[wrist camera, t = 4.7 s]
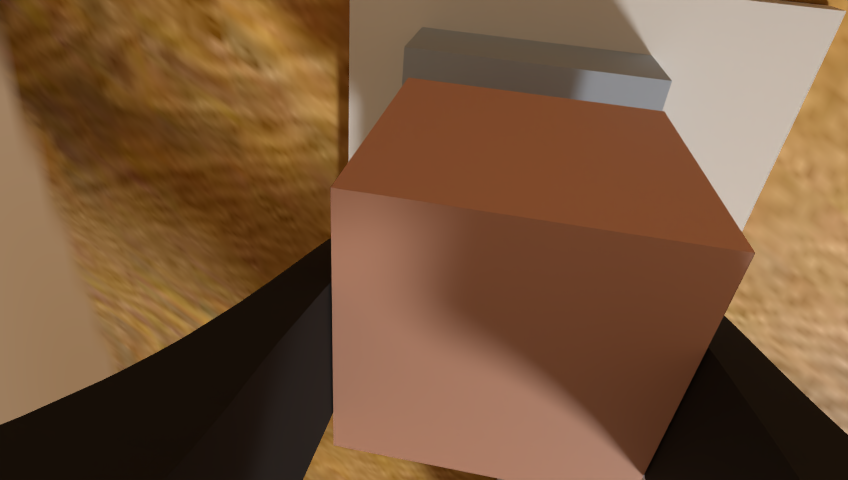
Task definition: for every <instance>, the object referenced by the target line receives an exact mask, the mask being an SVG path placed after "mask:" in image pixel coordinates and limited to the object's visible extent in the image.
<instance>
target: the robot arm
mask: <svg viewBox="0 0 848 480" xmlns="http://www.w3.org/2000/svg"><path fill="white" fill-rule="evenodd" d="M332 414H333V345H332V266H331V239H328V240H327V241H326V242H324V243H323V244H321V245H320V246H318V247H317V248H316V249H314V250H313V251H311V252H310V253H309V254H307V255H306V256H304V257H303V258H302V259H300V260H299V261H298V262H296V263H295V264H293V265H292V266H291V267H289V268H288V269H287V270H285V271H284V272H282V273H281V274H280V275H278V276H277V277H276V278H274V279H273V280H271V281H270V282H268V283H267V284H266V285H264V286H263V287H261V288H260V289H258V290H257V291H256V292H254V293H253V294H251V295H250V296H248V297H247V298H245V299H244V300H243V301H241V302H240V303H238V304H237V305H235V306H233V307H232V308H230V309H229V310H227V311H225V312H224V313H222V314H221V315H219V316H217V317H216V318H214V319H213V320H211V321H209V322H208V323H206V324H205V325H203V326H202V327H200V328H198V329H197V330H195V331H194V332H192V333H190V334H189V335H187V336H185V337H183V338H182V339H180V340H178V341H177V342H175V343H173V344H171V345H169V346H168V347H166V348H164V349H162V350H160V351H159V352H157V353H155V354H153V355H151V356H149V357H147V358H145V359H143V360H141V361H139V362H137V363H136V364H134V365H132V366H130V367H128V368H126V369H124V370H122V371H120V372H118V373H116V374H114V375H112V376H110V377H108V378H106V379H104V380H102V381H100V382H97V383H95V384H93V385H91V386H88V387H86V388H84V389H82V390H80V391H77V392H75V393H73V394H70V395H68V396H66V397H64V398H61V399H59V400H57V401H55V402H52V403H50V404H48V405H46V406H44V407H41V408H39V409H37V410H35V411H32V412H30V413H28V414H26V415H24V416H21V417H19V418H16V419H14V420H11V421H9V422H6V423H4V424H1V425H0V480H303V478H304V476H305V474H306V471H307V469H308V467H309V465H310V463H311V460H312V458H313V456H314V454H315V451H316V449H317V447H318V445H319V443H320V440H321V438H322V436H323V434H324V432H325V429H326V427H327V425H328V423H329V420H330V418H331V416H332ZM497 480H503V479H498V478H497ZM642 480H848V435H847V434H846V433H845V432H844V431H843V430H842V429H841V428H840V427H839V426H838V425H837V424H835V423H834V422H833V421H832V420H831V419H830V418H829V417H828V416H827V415H826V414H825V413H824V412H822V411H821V410H820V409H819V408H818V407H817V406H816V405H815V404H814V403H813V402H812V401H811V400H810V399H809V398H808V397H807V396H806V395H805V394H804V393H803V392H802V391H800V390H799V389H798V388H797V387H796V386H795V385H794V384H793V383H792V382H791V381H790V380H789V379H788V378H787V377H786V376H785V375H784V374H783V373H782V372H781V371H780V370H779V369H778V368H777V367H776V366H775V365H774V364H773V363H772V362H771V361H770V360H769V359H768V358H767V357H766V356H765V355H764V354H763V353H762V352H761V351H760V350H759V349H758V348H757V347H756V346H755V345H754V344H753V343H752V342H751V341H750V340H749V339H748V338H747V337H746V336H745V335H744V334H743V333H742V332H741V331H740V330H739V329H738V328H737V327H736V326H735V325H734V324H733V323H732V322H730V321H729V320H728V319H727V318H726V317H725V316H723V318H722V320H721V322H720V324H719V326H718V328H717V330H716V332H715V334H714V336H713V338H712V340H711V342H710V344H709V346H708V348H707V350H706V352H705V354H704V356H703V358H702V360H701V362H700V364H699V366H698V368H697V370H696V372H695V374H694V376H693V378H692V380H691V382H690V384H689V386H688V388H687V390H686V392H685V394H684V396H683V398H682V400H681V402H680V404H679V406H678V408H677V410H676V412H675V414H674V416H673V418H672V420H671V422H670V424H669V426H668V428H667V430H666V432H665V434H664V436H663V438H662V440H661V442H660V444H659V446H658V448H657V450H656V452H655V454H654V456H653V458H652V460H651V462H650V464H649V466H648V468H647V470H646V472H645V474H644V476H643V478H642Z"/></svg>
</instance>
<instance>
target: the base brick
mask: <svg viewBox="0 0 848 480" xmlns="http://www.w3.org/2000/svg"><path fill="white" fill-rule="evenodd" d="M408 77H409V78H416V79H424V80H431V81H439V82H447V83H454V84H462V85H469V86H477V87H484V88H492V89H499V90H507V91H515V92H522V93H530V94H537V95H545V96H552V97H560V98H567V99H575V100H583V101H590V102H598V103H605V104H613V105H620V106H628V107H635V108H643V109H651V110H658V111H662V110H663V107H664V104H665V101H666V98H667V95H668V92H669V89H670V86H671V83H672V80H671V79H670V78H669V76H668V75H667V74H666V73H665V71H664V70H663V69H662V68H661V66H660V65H659V64H658V63H657V61H656V60H655V59H654V57H653V56H652V55H646V54H638V53H629V52H621V51H613V50H605V49H597V48H589V47H581V46H573V45H564V44H556V43H548V42H540V41H532V40H524V39H516V38H507V37H499V36H491V35H483V34H475V33H467V32H459V31H451V30H442V29H434V28H426V27H422V28H421V29H420V30H419V31H418V32H417V33H416V34H415V35H414V37H413V38H412V39H411V40H410V41H409V42H408V43H407V44H406V46H405V47H404V60H403V76H402V86H403V84H404V83H405V81H406V80H407V79H408Z"/></svg>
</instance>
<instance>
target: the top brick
mask: <svg viewBox="0 0 848 480" xmlns="http://www.w3.org/2000/svg"><path fill="white" fill-rule="evenodd" d="M754 255H755V252H754V250H753V249H752V247H751V246H750V244H749V243H748V241H747V239H746V238H745V236H744V235H743V233H742V232H741V230H740V229H739V227H738V225H737V224H736V222H735V221H734V219H733V218H732V216H731V215H730V213H729V211H728V210H727V208H726V207H725V205H724V204H723V202H722V200H721V199H720V197H719V196H718V194H717V193H716V191H715V190H714V188H713V186H712V185H711V183H710V182H709V180H708V179H707V177H706V175H705V174H704V172H703V171H702V169H701V168H700V166H699V165H698V163H697V161H696V160H695V158H694V157H693V155H692V154H691V152H690V151H689V149H688V147H687V146H686V144H685V143H684V141H683V140H682V138H681V136H680V135H679V133H678V132H677V130H676V129H675V127H674V126H673V124H672V122H671V121H670V119H669V118H668V116H667V115H666V113H665V112H664V111H658V110H651V109H643V108H635V107H628V106H620V105H613V104H605V103H598V102H590V101H583V100H575V99H567V98H560V97H552V96H545V95H537V94H530V93H522V92H515V91H507V90H499V89H492V88H484V87H477V86H469V85H462V84H454V83H447V82H439V81H431V80H424V79H416V78H409V77H408V79H407V80H406V81H405V83H404V84H403V86H402V87H401V89H400V90H399V91H398V93H397V94H396V96H395V97H394V98H393V100H392V101H391V103H390V104H389V105H388V107H387V108H386V110H385V111H384V113H383V114H382V115H381V117H380V118H379V120H378V121H377V122H376V124H375V125H374V127H373V128H372V129H371V131H370V132H369V134H368V135H367V137H366V138H365V139H364V141H363V142H362V144H361V145H360V146H359V148H358V149H357V151H356V152H355V154H354V155H353V156H352V158H351V159H350V161H349V162H348V163H347V165H346V166H345V168H344V169H343V170H342V172H341V173H340V175H339V176H338V178H337V179H336V180H335V182H334V183H333V185H332V186H331V266H332V345H333V425H334V445H335V446H340V447H345V448H350V449H355V450H360V451H365V452H370V453H375V454H380V455H385V456H389V457H394V458H399V459H404V460H409V461H414V462H419V463H424V464H429V465H434V466H439V467H444V468H449V469H454V470H459V471H464V472H469V473H473V474H478V475H483V476H488V477H493V478H498V479H503V480H642V478H643V476H644V474H645V472H646V470H647V468H648V466H649V464H650V462H651V460H652V458H653V456H654V454H655V452H656V450H657V448H658V446H659V444H660V442H661V440H662V438H663V436H664V434H665V432H666V430H667V428H668V426H669V424H670V422H671V420H672V418H673V416H674V414H675V412H676V410H677V408H678V406H679V404H680V402H681V400H682V398H683V396H684V394H685V392H686V390H687V388H688V386H689V384H690V382H691V380H692V378H693V376H694V374H695V372H696V370H697V368H698V366H699V364H700V362H701V360H702V358H703V356H704V354H705V352H706V350H707V348H708V346H709V344H710V342H711V340H712V338H713V336H714V334H715V332H716V330H717V328H718V326H719V324H720V322H721V320H722V318H723V316H724V314H725V312H726V310H727V308H728V306H729V304H730V302H731V300H732V298H733V296H734V294H735V292H736V290H737V288H738V286H739V284H740V282H741V280H742V279H743V277H744V275H745V273H746V271H747V269H748V267H749V265H750V263H751V261H752V259H753V257H754Z"/></svg>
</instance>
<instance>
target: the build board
mask: <svg viewBox="0 0 848 480" xmlns="http://www.w3.org/2000/svg"><path fill="white" fill-rule="evenodd" d="M845 13H846V11H844V10H841V9H838V8H835V7H832V6H827V5H818V4H809V3H800V2H791V1H782V0H350V26H349V159H348V162H349V161H350V159H351V158H352V156H353V155H354V154H355V152H356V151H357V149H358V148H359V146H360V145H361V144H362V142H363V141H364V139H365V138H366V137H367V135H368V134H369V132H370V131H371V129H372V128H373V127H374V125H375V124H376V122H377V121H378V120H379V118H380V117H381V115H382V114H383V113H384V111H385V110H386V108H387V107H388V105H389V104H390V103H391V101H392V100H393V98H394V97H395V96H396V94H397V93H398V91H399V90H400V89H401V87H402V76H403V60H404V47H405V46H406V44H407V43H408V42H409V41H410V40H411V39H412V38H413V37H414V35H415V34H416V33H417V32H418V31H419V30H420V29H421V28H422V27H426V28H434V29H442V30H451V31H459V32H467V33H475V34H483V35H491V36H499V37H507V38H516V39H524V40H532V41H540V42H548V43H556V44H564V45H573V46H581V47H589V48H597V49H605V50H613V51H621V52H629V53H638V54H646V55H652V56H653V57H654V59H655V60H656V61H657V63H658V64H659V65H660V66H661V68H662V69H663V70H664V71H665V73H666V74H667V75H668V76H669V78H670V79H671V80H672V83H671V86H670V89H669V92H668V95H667V98H666V101H665V104H664V107H663V110H662V111H664V112H665V113H666V115H667V116H668V118H669V119H670V121H671V122H672V124H673V126H674V127H675V129H676V130H677V132H678V133H679V135H680V136H681V138H682V140H683V141H684V143H685V144H686V146H687V147H688V149H689V151H690V152H691V154H692V155H693V157H694V158H695V160H696V161H697V163H698V165H699V166H700V168H701V169H702V171H703V172H704V174H705V175H706V177H707V179H708V180H709V182H710V183H711V185H712V186H713V188H714V190H715V191H716V193H717V194H718V196H719V197H720V199H721V200H722V202H723V204H724V205H725V207H726V208H727V210H728V211H729V213H730V215H731V216H732V218H733V219H734V221H735V222H736V224H737V225H738V227H739V229H740V230H741V232H742V231H743V228H744V226H745V224H746V222H747V220H748V218H749V216H750V214H751V211H752V209H753V207H754V205H755V203H756V201H757V199H758V197H759V195H760V192H761V190H762V188H763V186H764V184H765V182H766V180H767V178H768V176H769V173H770V171H771V169H772V167H773V165H774V163H775V161H776V159H777V157H778V154H779V152H780V150H781V148H782V146H783V144H784V142H785V140H786V138H787V135H788V133H789V131H790V129H791V127H792V125H793V123H794V121H795V119H796V116H797V114H798V112H799V110H800V108H801V106H802V104H803V102H804V100H805V97H806V95H807V93H808V91H809V89H810V87H811V85H812V83H813V81H814V78H815V76H816V74H817V72H818V70H819V68H820V66H821V64H822V62H823V59H824V57H825V55H826V53H827V51H828V49H829V47H830V45H831V43H832V40H833V38H834V36H835V34H836V32H837V30H838V28H839V26H840V23H841V21H842V19H843V17H844V15H845Z"/></svg>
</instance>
